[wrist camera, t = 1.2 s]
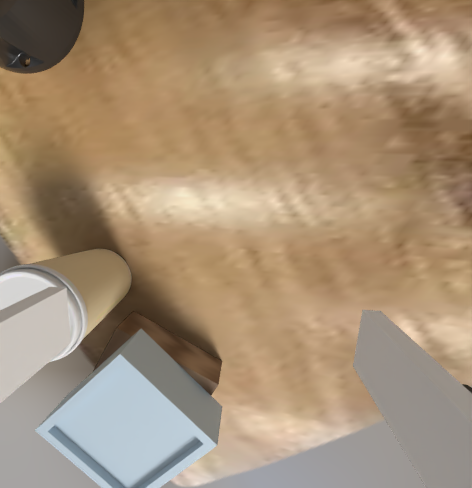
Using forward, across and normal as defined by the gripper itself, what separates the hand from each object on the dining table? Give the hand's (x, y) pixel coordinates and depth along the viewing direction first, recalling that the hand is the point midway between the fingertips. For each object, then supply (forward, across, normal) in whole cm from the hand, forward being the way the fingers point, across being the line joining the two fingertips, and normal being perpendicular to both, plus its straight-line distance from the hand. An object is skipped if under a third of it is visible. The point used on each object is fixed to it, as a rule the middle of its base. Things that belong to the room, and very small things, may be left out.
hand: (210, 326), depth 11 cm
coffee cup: (+22, -17, -6) cm, 28 cm away
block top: (+17, -10, -20) cm, 28 cm away
